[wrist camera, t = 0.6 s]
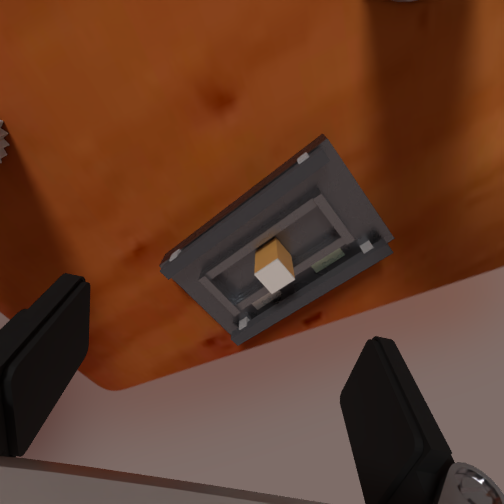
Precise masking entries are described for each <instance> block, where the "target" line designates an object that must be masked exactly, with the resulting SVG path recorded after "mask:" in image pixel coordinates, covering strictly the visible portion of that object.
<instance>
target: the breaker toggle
mask: <svg viewBox="0 0 504 504" xmlns="http://www.w3.org/2000/svg"><path fill="white" fill-rule="evenodd" d="M254 275H255V276H256V277H257V278H258V280H259V281H260V282H261V283H262V284H263V285H264V286H265V287H266V288H267V289H268V291H269V292H270V293H271V294H273V293H275V292H276V291H278V290H279V289H281V288H283V287H284V286H286V285H287V284H289V283H290V282H292V281H294V280H295V276H294V270H293V263H292V257H291V255H290V253H289V252H288V251H287V250H286V249H285V247H284V246H283V245H282V244H281V243H280V241H279V240H278V239H277V238H276V237H275V238H274V239H273V240H271V241H270V242H268V243H267V244H265V245H264V246H262V247H261V248H260V249H258V250H257V251H255V272H254Z"/></svg>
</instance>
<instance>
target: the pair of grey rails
mask: <svg viewBox="0 0 504 504" xmlns="http://www.w3.org/2000/svg"><path fill="white" fill-rule="evenodd" d="M297 162H298V164H296V165H295V166H294V167H292V168H291V169H290V170H288V171H287V172H286V173H284V174H283V175H282V176H280V177H279V178H278V179H276V180H275V181H274V182H272V183H271V184H270V185H269V186H267V187H266V188H265V189H263V190H262V191H261V192H259V193H258V194H257V195H255V196H254V197H253V198H251V199H250V200H249V201H247V202H246V203H245V204H243V205H242V206H241V207H239V208H238V209H237V210H235V211H234V212H233V213H231V214H230V215H229V216H228V217H226V218H225V219H224V220H222V221H221V222H220V223H218V224H217V225H216V226H214V227H213V228H212V229H210V230H209V231H208V232H206V233H205V234H204V235H202V236H201V237H200V238H198V239H197V240H196V241H194V242H193V243H192V244H190V245H189V246H188V247H187V248H185V249H184V250H183V251H181V250H180V249H178V250H177V251H175V252H174V253H173V254H172V255H171V257H170V259H169V261H168V262H167V263H165V264H164V265H163V266H162V268H161V270H160V272H161V273H162V274H163V275H164V276H165V277H166V278H167V279H168V280H169V279H170V278H171V277H173V276H174V275H175V274H177V273H178V272H180V271H181V270H182V269H184V268H185V267H186V266H188V265H189V264H190V263H192V262H193V261H195V260H196V259H197V258H199V257H200V256H201V255H203V254H204V253H205V252H207V251H208V250H210V249H211V248H212V247H214V246H215V245H216V244H218V243H219V242H220V241H222V240H223V239H225V238H226V237H227V236H229V235H230V234H231V233H233V232H234V231H236V230H237V229H238V228H240V227H241V226H242V225H244V224H245V223H246V222H248V221H249V220H251V219H252V218H253V217H255V216H256V215H257V214H259V213H260V212H261V211H263V210H264V209H266V208H267V207H268V206H270V205H271V204H272V203H274V202H275V201H276V200H278V199H279V198H281V197H282V196H283V195H285V194H286V193H287V192H289V191H290V190H291V189H293V188H294V187H296V186H297V185H298V184H300V183H301V182H302V181H304V180H305V179H306V178H308V177H309V176H311V175H312V174H313V173H315V172H316V171H317V170H319V169H320V168H321V167H323V166H324V165H326V164H327V163H328V162H330V159H329V158H328V156H327V155H326V154H325V152H324V151H323V149H322V148H321V147H319V148H317V149H316V150H315V151H313V152H312V153H311V154H309V155H308V154H307V152H305V153H304V154H303V155H301V156H300V157H299V158H298V159H297ZM360 248H361V249H362V251H361V252H360V253H358V254H356V255H355V256H353V257H352V258H350V259H348V260H347V261H345V262H344V263H342V264H340V265H339V266H337V267H335V268H334V269H332V270H331V271H329V272H327V273H326V274H324V275H323V276H321V277H319V278H318V279H316V280H314V281H313V282H311V283H310V284H308V285H306V286H305V287H303V288H302V289H300V290H298V291H297V292H295V293H293V294H292V295H290V296H289V297H287V298H285V299H284V300H282V301H280V302H279V303H277V304H276V305H274V306H272V307H271V308H269V309H268V310H266V311H264V312H263V313H261V314H259V315H258V316H256V317H255V318H253V319H251V320H249V319H248V318H247V317H245V318H244V319H242V320H240V321H239V327H238V328H237V329H235V330H234V331H232V334H231V340H232V341H233V342H235V343H236V344H237V345H240V344H242V343H243V342H245V341H247V340H248V339H250V338H252V337H253V336H255V335H257V334H258V333H260V332H262V331H263V330H265V329H267V328H268V327H270V326H272V325H273V324H275V323H277V322H278V321H280V320H282V319H283V318H285V317H287V316H288V315H290V314H292V313H293V312H295V311H297V310H298V309H300V308H302V307H303V306H305V305H307V304H308V303H310V302H312V301H313V300H315V299H317V298H318V297H320V296H322V295H324V294H325V293H327V292H329V291H330V290H332V289H334V288H335V287H337V286H339V285H340V284H342V283H344V282H345V281H347V280H349V279H350V278H352V277H354V276H355V275H357V274H359V273H360V272H362V271H364V270H365V269H367V268H369V267H370V266H372V265H374V264H375V263H377V262H379V261H380V260H382V259H384V258H385V257H387V256H389V255H390V254H392V253H393V251H392V250H391V248H390V247H389V246H388V244H387V243H386V241H385V240H384V239H383V238H382V239H381V240H379V241H377V242H376V243H374V244H373V245H372V244H371V243H370V241H369V240H368V241H367V242H365V243H364V244H362V245H360Z"/></svg>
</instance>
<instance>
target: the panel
mask: <svg viewBox="0 0 504 504" xmlns="http://www.w3.org/2000/svg"><path fill="white" fill-rule="evenodd" d="M319 147H321V148H322V149H323V151H324V152H325V154H326V155H327V156H328V158H329V159H330V162H328V163H327V164H326V165H324V166H323V167H321V168H320V169H319V170H317V171H316V172H315V173H313V174H312V175H311V176H309V177H308V178H306V179H305V180H304V181H302V182H301V183H300V184H298V185H297V186H296V187H294V188H293V189H291V190H290V191H289V192H287V193H286V194H285V195H283V196H282V197H281V198H279V199H278V200H276V201H275V202H274V203H272V204H271V205H270V206H268V207H267V208H266V209H264V210H263V211H261V212H260V213H259V214H257V215H256V216H255V217H253V218H252V219H251V220H249V221H248V222H246V223H245V224H244V225H242V226H241V227H240V228H238V229H237V230H236V231H234V232H233V233H231V234H230V235H229V236H227V237H226V238H225V239H223V240H222V241H220V242H219V243H218V244H216V245H215V246H214V247H212V248H211V249H210V250H208V251H207V252H205V253H204V254H203V255H201V256H200V257H199V258H197V259H196V260H195V261H193V262H192V263H190V264H189V265H188V266H186V267H185V268H184V269H182V270H181V271H180V272H178V273H177V274H175V275H174V276H173V277H171V278H172V279H173V280H174V281H175V282H176V283H177V284H178V285H179V286H181V287H182V288H183V289H184V290H185V291H186V292H187V293H188V294H189V295H190V296H191V297H192V298H193V299H194V300H195V301H196V302H197V303H198V304H199V305H200V306H201V307H202V308H203V309H204V310H206V311H207V312H208V313H209V314H210V315H211V316H212V317H213V318H214V319H215V320H216V321H217V322H218V323H219V324H220V325H221V326H222V327H223V328H224V329H225V330H226V331H227V332H228V333H229V334H232V331H234V330H235V329H237V328H238V327H239V321H240V320H242V319H244V318H245V317H247V318H248V319H249V320H251V319H253V318H255V317H256V316H258V315H259V314H261V313H263V312H264V311H266V310H268V309H269V308H271V307H272V306H274V305H276V304H277V303H279V302H280V301H282V300H284V299H285V298H287V297H289V296H290V295H292V294H293V293H295V292H297V291H298V290H300V289H302V288H303V287H305V286H306V285H308V284H310V283H311V282H313V281H314V280H316V279H318V278H319V277H321V276H323V275H324V274H326V273H327V272H329V271H331V270H332V269H334V268H335V267H337V266H339V265H340V264H342V263H344V262H345V261H347V260H348V259H350V258H352V257H353V256H355V255H356V254H358V253H360V252H361V251H362V249H361V248H360V245H362V244H364V243H365V242H367V241H368V240H369V241H370V243H371V244H372V245H373V244H374V243H376V242H377V241H379V240H381V239H382V238H383V239H384V240H385V241H386V243H388V242H390V241H391V240H393V239H394V237H393V236H392V234H391V233H390V231H389V230H388V228H387V227H386V225H385V224H384V222H383V221H382V219H381V218H380V216H379V215H378V213H377V212H376V210H375V209H374V207H373V206H372V204H371V203H370V201H369V200H368V198H367V197H366V195H365V194H364V192H363V191H362V189H361V188H360V186H359V185H358V183H357V182H356V180H355V179H354V177H353V176H352V174H351V173H350V171H349V170H348V168H347V167H346V165H345V164H344V162H343V161H342V159H341V158H340V156H339V155H338V153H337V152H336V150H335V149H334V147H333V146H332V145H331V143H330V142H329V140H328V139H327V137H326V136H325V135H324V134H321V135H320V136H319V137H318V138H316V139H315V140H314V141H312V142H311V143H310V144H308V145H307V146H306V147H305V148H303V149H302V150H301V151H299V152H298V153H297V154H295V155H294V156H293V157H292V158H290V159H289V160H288V161H286V162H285V163H284V164H282V165H281V166H280V167H278V168H277V169H276V170H275V171H273V172H272V173H271V174H269V175H268V176H267V177H265V178H264V179H263V180H262V181H260V182H259V183H258V184H256V185H255V186H254V187H252V188H251V189H250V190H249V191H247V192H246V193H245V194H243V195H242V196H241V197H239V198H238V199H237V200H236V201H234V202H233V203H232V204H230V205H229V206H228V207H226V208H225V209H224V210H222V211H221V212H220V213H219V214H217V215H216V216H215V217H213V218H212V219H211V220H209V221H208V222H207V223H206V224H204V225H203V226H202V227H200V228H199V229H198V230H196V231H195V232H194V233H193V234H191V235H190V236H189V237H187V238H186V239H185V240H183V241H182V242H181V243H179V244H178V245H177V246H176V247H174V248H173V249H172V250H170V251H169V252H168V253H166V254H165V256H164V258H163V260H162V262H161V263H160V265H159V266H160V267H161V268H162V266H163V265H164V264H165V263H167V262H168V261H169V259H170V257H171V255H172V254H173V253H174V252H175V251H177V250H178V249H180V250H181V251H183V250H184V249H185V248H187V247H188V246H189V245H190V244H192V243H193V242H194V241H196V240H197V239H198V238H200V237H201V236H202V235H204V234H205V233H206V232H208V231H209V230H210V229H212V228H213V227H214V226H216V225H217V224H218V223H220V222H221V221H222V220H224V219H225V218H226V217H228V216H229V215H230V214H231V213H233V212H234V211H235V210H237V209H238V208H239V207H241V206H242V205H243V204H245V203H246V202H247V201H249V200H250V199H251V198H253V197H254V196H255V195H257V194H258V193H259V192H261V191H262V190H263V189H265V188H266V187H267V186H269V185H270V184H271V183H272V182H274V181H275V180H276V179H278V178H279V177H280V176H282V175H283V174H284V173H286V172H287V171H288V170H290V169H291V168H292V167H294V166H295V165H296V164H298V162H297V159H298V158H299V157H300V156H301V155H303V154H304V153H305V152H307V154H308V155H309V154H311V153H312V152H313V151H315V150H316V149H317V148H319ZM275 237H276V238H277V239H278V240H279V241H280V243H281V244H282V245H283V246H284V247H285V249H286V250H287V251H288V252H289V253H290V255H291V257H292V263H293V270H294V276H295V280H294V281H292V282H290V283H289V284H287V285H286V286H284V287H283V288H281V289H279V290H278V291H276V292H275V293H273V294H271V293H270V292H269V291H268V289H267V288H266V287H265V286H264V285H263V284H262V283H261V282H260V281H259V280H258V278H257V277H256V276H255V275H254V272H255V251H257V250H258V249H260V248H261V247H262V246H264V245H265V244H267V243H268V242H270V241H271V240H273V239H274V238H275Z"/></svg>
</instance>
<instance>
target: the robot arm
mask: <svg viewBox="0 0 504 504" xmlns="http://www.w3.org/2000/svg"><path fill="white" fill-rule="evenodd" d="M392 1H396V2H413V1H417V0H392ZM89 313H90V283H88V282H85V278H84V277H82V276H77V275H72V274H67V273H65V274H63V275H62V276H61V277H60V278H59V279H58V280H57V281H56V282H55V283H54V284H53V285H52V286H51V287H50V288H49V289H48V290H47V291H46V292H45V293H44V294H43V295H42V296H41V297H40V298H39V299H38V300H37V301H36V302H35V303H34V304H33V305H32V306H31V307H30V308H29V309H23V310H21V311H20V312H18V313H17V314H16V315H15V316H14V317H13V318H12V319H11V320H10V321H9V322H8V323H7V324H6V325H5V326H4V327H3V328H2V329H0V504H327V503H321V502H315V501H309V500H302V499H296V498H290V497H284V496H277V495H271V494H264V493H258V492H252V491H245V490H238V489H232V488H226V487H219V486H213V485H206V484H200V483H193V482H187V481H180V480H174V479H167V478H160V477H153V476H146V475H140V474H133V473H127V472H119V471H113V470H106V469H100V468H93V467H86V466H79V465H71V464H63V463H56V462H48V461H41V460H33V459H26V458H16V456H19V457H21V456H23V455H24V454H25V452H26V451H27V449H28V448H29V446H30V445H31V443H32V441H33V440H34V438H35V437H36V435H37V433H38V432H39V430H40V428H41V427H42V425H43V424H44V422H45V420H46V419H47V417H48V416H49V414H50V412H51V411H52V409H53V408H54V406H55V404H56V403H57V401H58V399H59V398H60V396H61V395H62V393H63V392H64V390H65V388H66V387H67V385H68V384H69V382H70V380H71V379H72V377H73V376H74V374H75V372H76V371H77V369H78V368H79V366H80V364H81V363H82V361H83V360H84V358H85V356H86V354H87V351H88V346H89ZM340 405H341V409H342V413H343V416H344V421H345V424H346V429H347V432H348V437H349V440H350V444H351V448H352V452H353V456H354V460H355V464H356V468H357V472H358V476H359V480H360V484H361V487H362V492H363V496H364V500H365V503H366V504H504V495H503V493H502V492H501V490H500V489H499V487H498V486H497V485H496V484H495V483H494V482H493V480H492V479H491V478H489V477H488V476H487V475H486V474H485V473H483V472H482V471H481V470H479V469H477V468H476V467H474V466H472V465H469V464H467V463H461V462H457V463H455V462H454V460H453V458H452V456H451V454H452V452H451V450H450V448H449V446H448V444H447V442H446V440H445V438H444V436H443V434H442V432H441V431H440V429H439V427H438V425H437V423H436V421H435V419H434V417H433V415H432V414H431V411H430V409H429V407H428V406H427V404H426V402H425V400H424V398H423V396H422V394H421V392H420V390H419V388H418V386H417V385H416V383H415V381H414V379H413V377H412V375H411V373H410V371H409V369H408V367H407V365H406V363H405V361H404V359H403V358H402V356H401V354H400V352H399V350H398V348H397V346H396V344H395V342H394V341H393V340H391V339H387V338H382V337H377V336H375V337H374V338H373V339H372V340H371V339H370V340H368V341H367V342H366V344H365V346H364V348H363V350H362V352H361V354H360V356H359V358H358V360H357V362H356V364H355V366H354V368H353V370H352V372H351V374H350V376H349V378H348V380H347V382H346V384H345V386H344V388H343V390H342V392H341V395H340Z"/></svg>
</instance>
